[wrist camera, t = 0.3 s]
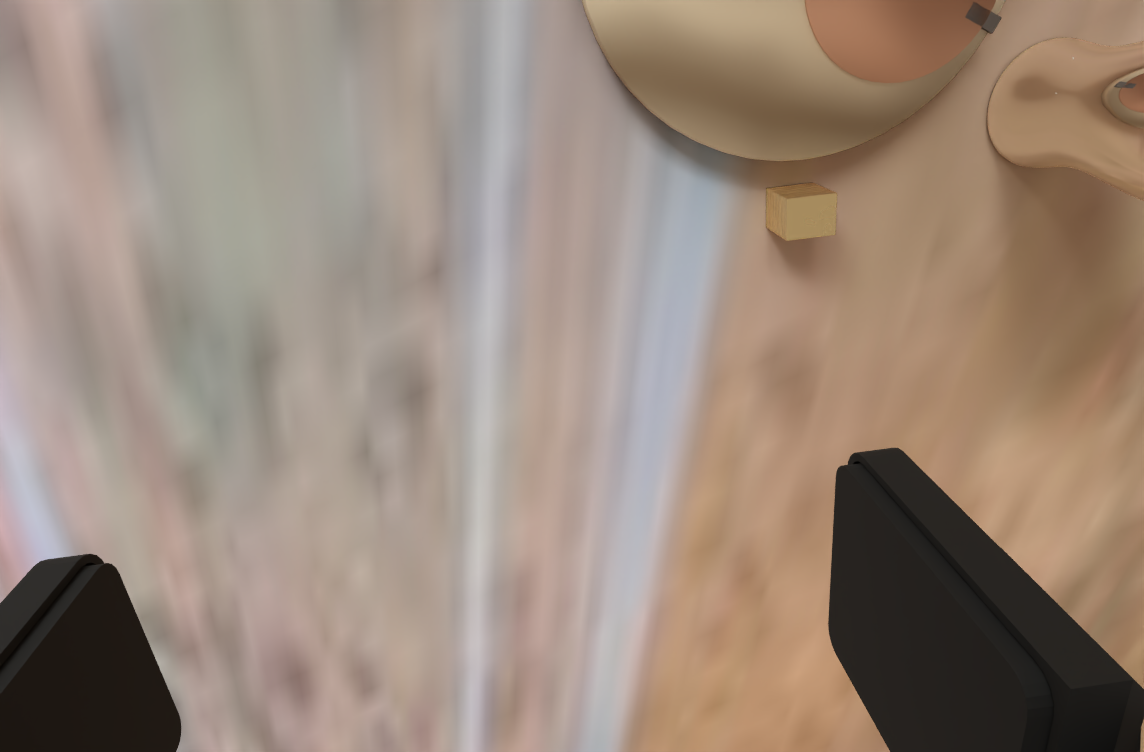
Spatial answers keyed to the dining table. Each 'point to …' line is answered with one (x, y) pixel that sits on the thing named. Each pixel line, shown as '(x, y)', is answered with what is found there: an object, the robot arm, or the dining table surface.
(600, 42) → the turntable
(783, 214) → the wooden toy cube
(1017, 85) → the beer glass
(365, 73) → the dining table surface
